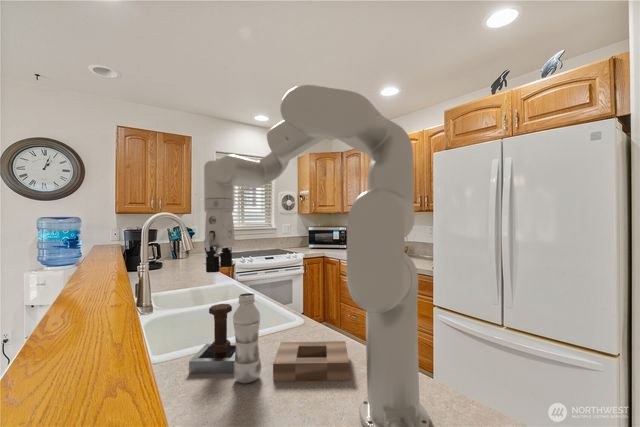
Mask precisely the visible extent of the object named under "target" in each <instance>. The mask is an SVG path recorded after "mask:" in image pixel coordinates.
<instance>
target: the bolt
mask: <svg viewBox="0 0 640 427" xmlns="http://www.w3.org/2000/svg"><path fill="white" fill-rule="evenodd" d="M232 311H233V306H232V305H231V304H230V303H217V304H214V305H211V306H210V307H209V309H208V314H210V315H212V316H213V320H214V321H213V323H214V324H213V326H214V327H213V329H214V332H213V333H214V338H213V339H214V341H212V342H211V343H212V344H211V350H212V351H213V352H214V354H215V356H213V358H228V356H227V350H228V349H229V348H230V343H231V341H230V340H229V339H228V327H227V326H228V314H229V313H231V312H232Z"/></svg>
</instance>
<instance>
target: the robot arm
mask: <svg viewBox="0 0 640 427" xmlns="http://www.w3.org/2000/svg"><path fill="white" fill-rule="evenodd" d="M280 115H281V118H282V119H283V120H281V121H280V122H278V123H277V124H275V125H273V126H272V127H271V128H269V129H268V131H267V133H266V140H267V144H268V147H269V149H270V150H271V151H270V153H268V154H267V155H265V156H264V157H262V158H260V159H258V160H254V159H250V158H248V157H247V158H246V157H243V156H239V155H236V154H227V155H225V156H222V157H220V158H217V159H215V160H214V159H213V160H208V161H207V162H205V164H204V167H203V169H204V170H203V175H204V176H203V187H204V188H203V192H204V193H203V194H204V195H203V196H204V200H203V201H204V202H203V206H204V212H205V225H204V240H203V244H204V251H205V253H204V254H205V255H204V256H205V270H206V271H205V272H206V274H207V273H219V272H220V267H221V268H224V267H225V268H227V267H228V268H229V267H232V266H233V248H232V247H234V246H235V243H236V241H235V237H236V236H235V224H234V216H233V212H235V211H234V207H235V206H234V201H235V200H234V186H239V187H246V188H252V189H257V188H261V187H264V186H266V185H268V184H270V183H272V181H275V180H276V179H278V178H280V177H281V175H282V174H283V173H284V172H285V171H286V170H287V168H288V165H289V163H290V161H291V160H292V159H294V158H296V157H297V156H299V155H301V154H302V153H304V152H305V151H307V150H309V149H310V148H312V147H314V146H316V145H317V144H319V143H320V142H322V141H323V140H325V139H327V138H328V137H330V138H334V139H336V140H338V141H341V142H342V143H344V144H345V145H347V146H349V147H350V148H352V149H354V150H356V151H359V152H360V153H361V152H362V153H364V154H366V155H368V156H369V157H370V161H369V166H368V173H367V174H368V175H367V178H368V185H367V186H368V187H367V188H368V189H367V190H365V191H364V192H362V193H360V194H359V195H358V196H357V197H356V198H355V199H354V200H353V203H351V206H350V209H349V213H348V217H347V222H346V223H347V225H346V284H347V289H348V291H349V295H350V297H351V299H352V300H353V301H354V303H355V304H356V305H357V306H358V307H359V308H360V309H362V310H363V311H366V312H365V345H366V346H365V348H366V349H365V351H366V385H367V386H366V389H367V390H366V391H367V393H366V394H367V396H366V397H365V398H364V399H363V400H362V401H361V402H360V406H359V418H360V422H361V423H362V425H363V427H430V417H429V414H428V411H427V410H426V408H425V407H424V406H423V405H422V404H421V403H420V375H419V374H420V372H419V346H418V345H419V342H418V339H419V335H418V334H419V332H418V331H419V329H418V301H419V300H418V298H419V297H418V296H419V274H418V269H417V266H416V265H415V263H414V261H413V259H412V258H411V257H410V255H408V254H407V253H406V252H405V246H406V245H405V243H406V242H405V240H406V239H405V238H406V237H408V235H409V234H410V233H411V232H412V231H413V228H414V225H415V220H416V219H415V201H414V200H415V182H414V181H415V179H414V178H415V177H414V176H415V175H414V150H413V144H412V141H411V138H410V136H409V134H408V133H407V131H406V130H405V129H404V128H403V127H402V126H400V124H398V123H396V122H394V121H393V120H390V119H388V118H387V117H385V116H384V115H383V114H382V113H381V112H380V110H378V109H377V108H376V107H375V106H374V104H373V103H372V102H371V101H370V100H369V99H368V98H367V97H366V96H365V95H362V94H361V93H358V92H356V91H351V90H347V89H341V88H340V89H339V88H335V87H334V88H333V87H327V86H326V87H325V86H322V85H321V86H320V85H313V84H301V85H297V86H295V87H293V88H291V89H289V90H288V91H287V92H286V93H285V95H284V96H283V98H282V99H281V103H280ZM220 251H221V252H220ZM219 252H220V253H219Z"/></svg>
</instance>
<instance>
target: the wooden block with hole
mask: <svg viewBox="0 0 640 427" xmlns="http://www.w3.org/2000/svg"><path fill="white" fill-rule="evenodd" d="M272 379H273V380H272V381H273V382H289V381H291V382H292V381H293V382H297V381H298V382H300V381H303V382H304V381H305V382H309V381H311V382H312V381H350V380H351V378H350V359H349V354H348V349H347V344H346V341H345V340H343V341H342V340H341V341H340V340H339V341H337V340H335V341H280V344H279V345H278V349H277V351H276V355H275V358H274V360H273V363H272Z"/></svg>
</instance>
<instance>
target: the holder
mask: <svg viewBox="0 0 640 427" xmlns="http://www.w3.org/2000/svg"><path fill="white" fill-rule="evenodd" d="M212 343H213V342H211V343H205V345H204V346H202V347H201V349H200V350H199V351H197V353H195V355H194V356H192V357H191V358H190V360H189V361H188V374H190V375H191V374H192V375H193V374H200V375H201V374H234V372H233V367H234V361H235V351H236V342H230V348H229V349H228V350H227V358H214V356H215V354H214V352H213V351H212V350H211V344H212ZM211 357H212V358H211Z"/></svg>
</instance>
